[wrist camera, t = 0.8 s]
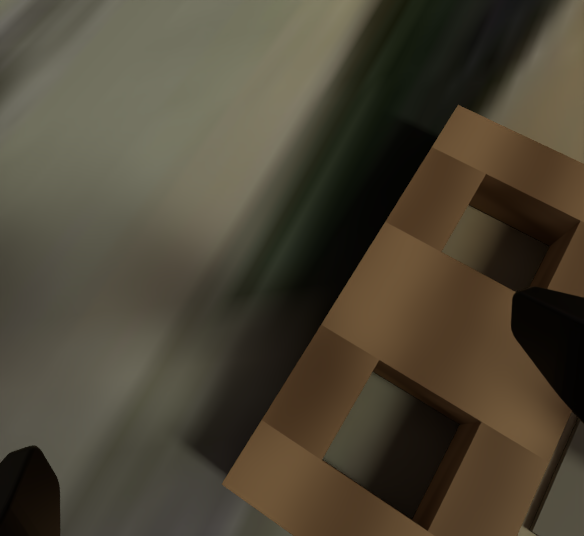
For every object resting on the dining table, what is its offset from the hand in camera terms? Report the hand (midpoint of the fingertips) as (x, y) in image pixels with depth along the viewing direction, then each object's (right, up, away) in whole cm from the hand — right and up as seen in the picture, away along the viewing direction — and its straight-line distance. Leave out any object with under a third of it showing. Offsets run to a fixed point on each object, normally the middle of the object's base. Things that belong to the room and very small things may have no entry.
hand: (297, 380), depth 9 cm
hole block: (+7, -2, +14) cm, 16 cm away
